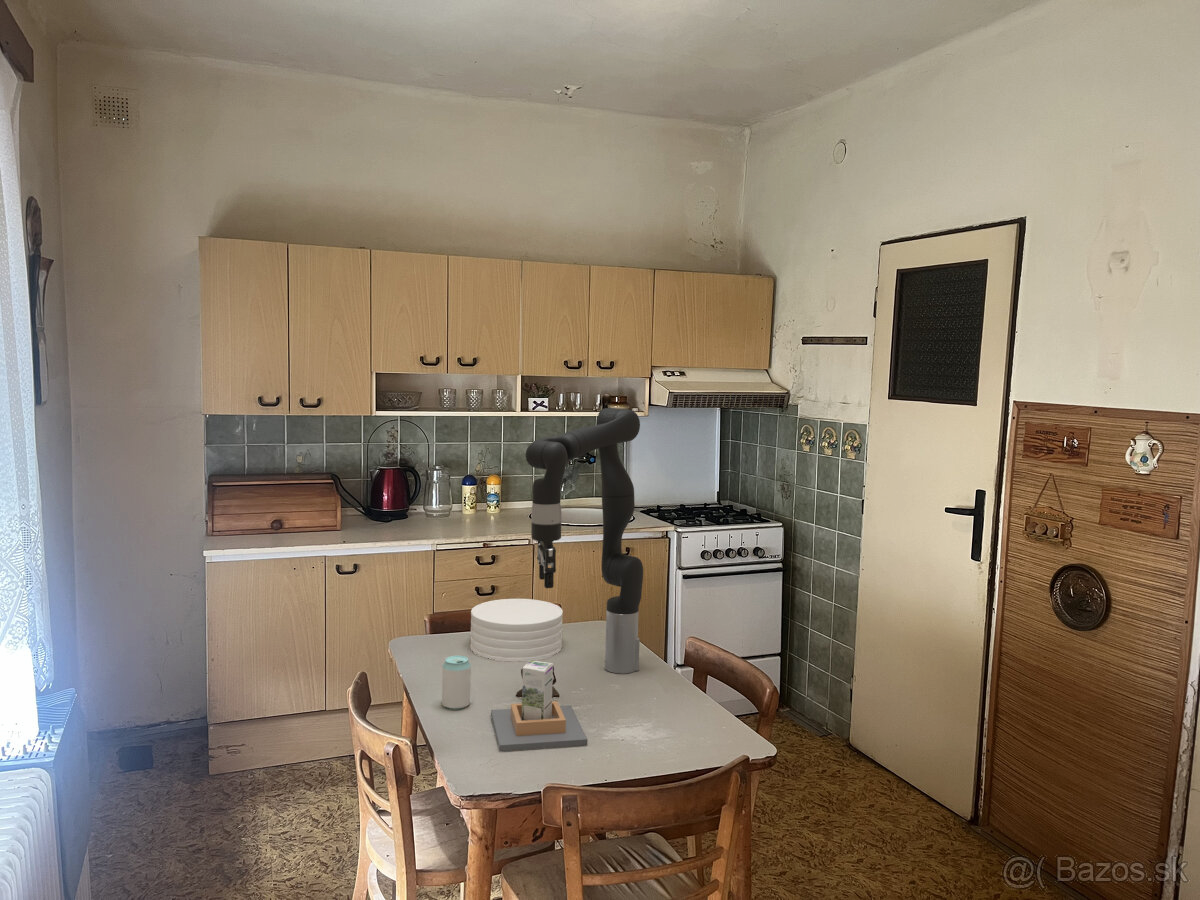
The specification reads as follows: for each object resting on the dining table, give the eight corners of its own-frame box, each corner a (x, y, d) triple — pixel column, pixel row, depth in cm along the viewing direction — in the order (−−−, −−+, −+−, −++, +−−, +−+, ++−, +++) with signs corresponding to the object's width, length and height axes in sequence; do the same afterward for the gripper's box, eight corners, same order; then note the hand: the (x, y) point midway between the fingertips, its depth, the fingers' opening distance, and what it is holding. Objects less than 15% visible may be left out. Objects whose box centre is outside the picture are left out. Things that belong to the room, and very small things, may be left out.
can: (474, 701, 216) (475, 655, 215) (464, 712, 209) (465, 665, 208) (448, 698, 217) (449, 653, 216) (437, 708, 210) (438, 662, 209)
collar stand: (570, 710, 212) (571, 693, 211) (587, 745, 192) (587, 726, 192) (490, 715, 207) (491, 698, 207) (499, 751, 188) (499, 732, 187)
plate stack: (484, 630, 276) (485, 596, 275) (568, 636, 272) (569, 601, 271) (458, 658, 248) (459, 620, 247) (552, 665, 244) (553, 627, 243)
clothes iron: (562, 698, 221) (556, 665, 218) (521, 713, 217) (514, 679, 215) (554, 686, 227) (547, 653, 225) (514, 700, 224) (507, 667, 221)
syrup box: (552, 721, 201) (554, 662, 200) (543, 730, 196) (544, 670, 195) (530, 717, 203) (531, 658, 202) (520, 726, 198) (521, 666, 196)
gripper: (566, 525, 205) (565, 590, 207) (556, 514, 219) (556, 575, 221) (535, 526, 204) (535, 591, 205) (527, 515, 217) (527, 576, 219)
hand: (546, 583), depth 213 cm, fingers open, 8 cm apart
